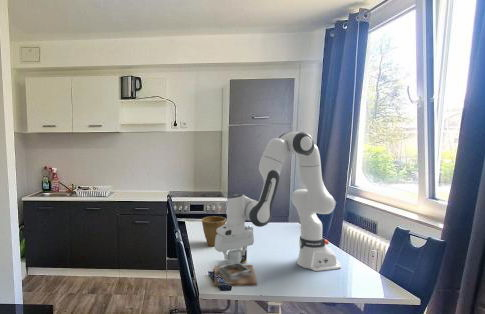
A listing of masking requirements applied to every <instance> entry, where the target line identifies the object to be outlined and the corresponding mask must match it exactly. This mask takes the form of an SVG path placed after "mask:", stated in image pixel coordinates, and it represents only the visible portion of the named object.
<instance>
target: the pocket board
mask: <svg viewBox="0 0 485 314" xmlns="http://www.w3.org/2000/svg"><path fill="white" fill-rule="evenodd" d="M215 274H216V275H220V276H221V278H223V279H225V281H226V282H227V283H228V284H230V285H231V286H230V287H245V286H247V287H248V286H252V287H253V286H257V285H258V281H257V278H256V274H255V271H254V266H253V264H248V265H247V264H244V263H239V264H234V263H228V264H224V265H222V264H221V265H214V279H213V281H214V283H213V286H214V287H218V286H217V285H218V284H222V283H220V282H218V281H217V277H216V276H215Z"/></svg>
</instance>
